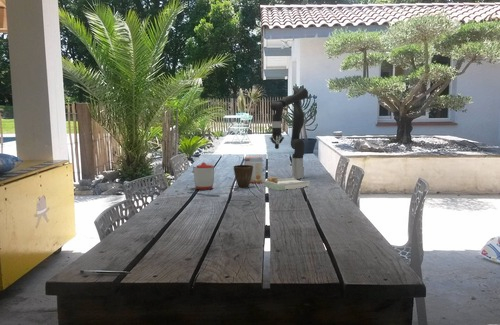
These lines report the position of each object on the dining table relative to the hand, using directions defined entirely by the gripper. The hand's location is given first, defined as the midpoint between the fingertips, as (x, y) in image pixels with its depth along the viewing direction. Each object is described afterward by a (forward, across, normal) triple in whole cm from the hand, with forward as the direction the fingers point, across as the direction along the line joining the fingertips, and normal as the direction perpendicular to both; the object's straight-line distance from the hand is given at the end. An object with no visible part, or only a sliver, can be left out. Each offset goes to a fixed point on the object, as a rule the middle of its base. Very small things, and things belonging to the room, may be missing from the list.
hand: (276, 148), depth 386 cm
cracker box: (+27, +17, -8) cm, 33 cm away
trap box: (+27, +5, +22) cm, 35 cm away
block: (+24, +15, +17) cm, 33 cm away
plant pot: (+27, +34, +6) cm, 44 cm away
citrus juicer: (+27, +63, -4) cm, 69 cm away
